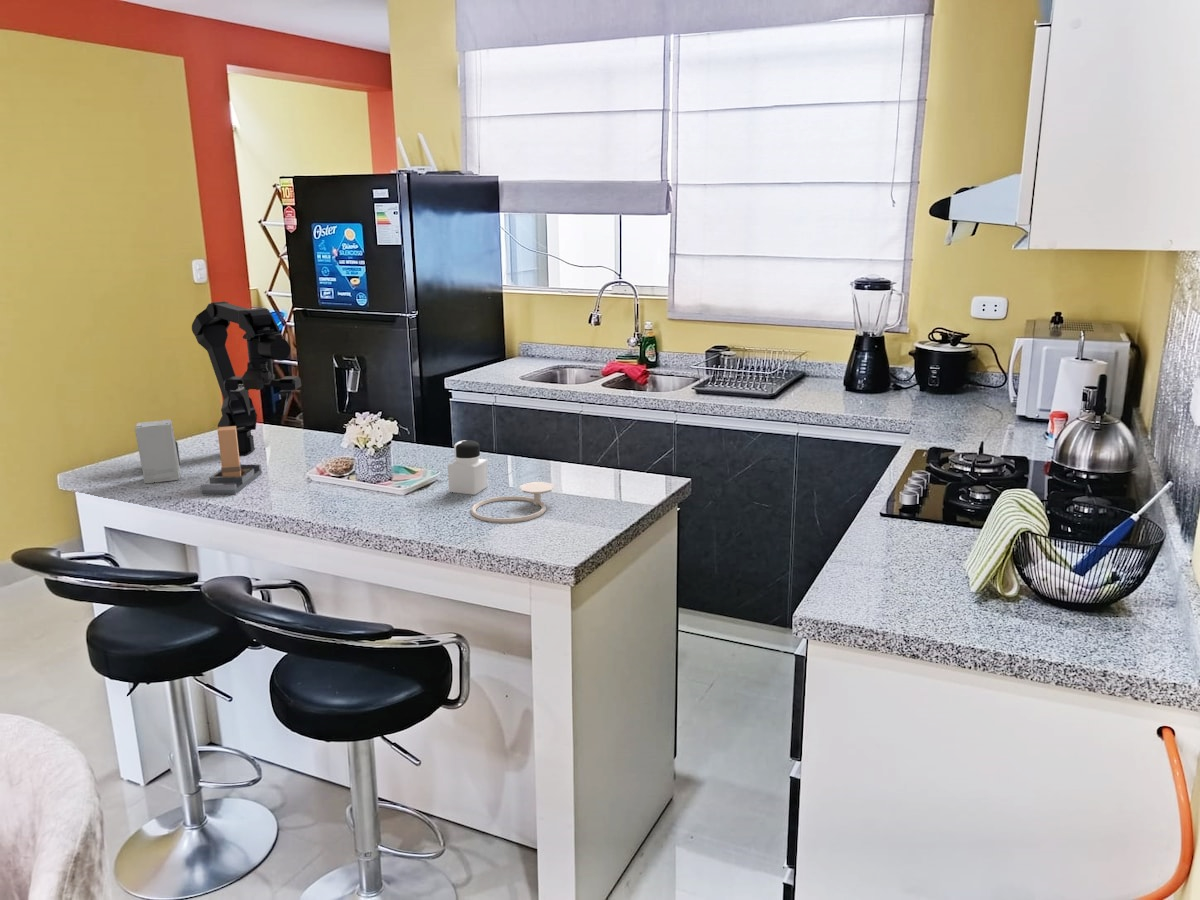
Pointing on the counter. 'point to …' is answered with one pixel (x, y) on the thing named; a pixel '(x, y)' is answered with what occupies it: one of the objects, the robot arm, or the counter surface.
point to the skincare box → (157, 451)
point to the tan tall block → (229, 451)
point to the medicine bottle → (467, 469)
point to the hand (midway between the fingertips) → (265, 415)
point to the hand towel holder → (530, 488)
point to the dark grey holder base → (231, 481)
